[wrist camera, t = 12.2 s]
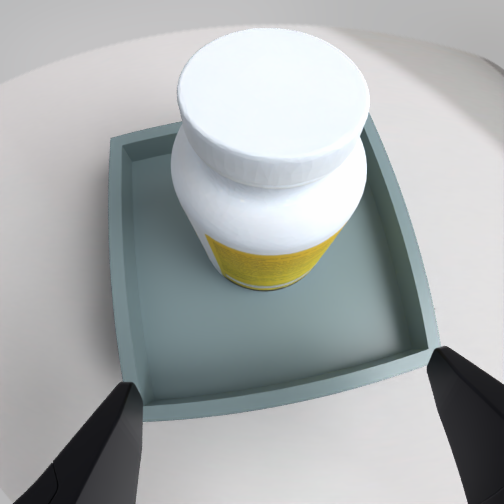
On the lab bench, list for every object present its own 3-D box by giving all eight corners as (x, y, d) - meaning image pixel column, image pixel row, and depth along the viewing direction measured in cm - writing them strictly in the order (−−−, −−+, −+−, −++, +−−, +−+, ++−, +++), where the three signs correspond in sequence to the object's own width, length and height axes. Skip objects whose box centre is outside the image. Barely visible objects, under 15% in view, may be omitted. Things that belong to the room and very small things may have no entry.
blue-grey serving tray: (403, 357, 19) (443, 359, 14) (158, 405, 18) (130, 422, 13) (346, 143, 23) (363, 101, 18) (134, 176, 22) (110, 137, 18)
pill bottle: (338, 270, 17) (454, 161, 6) (225, 310, 17) (173, 250, 6) (295, 169, 19) (330, 3, 8) (190, 202, 19) (127, 44, 7)
